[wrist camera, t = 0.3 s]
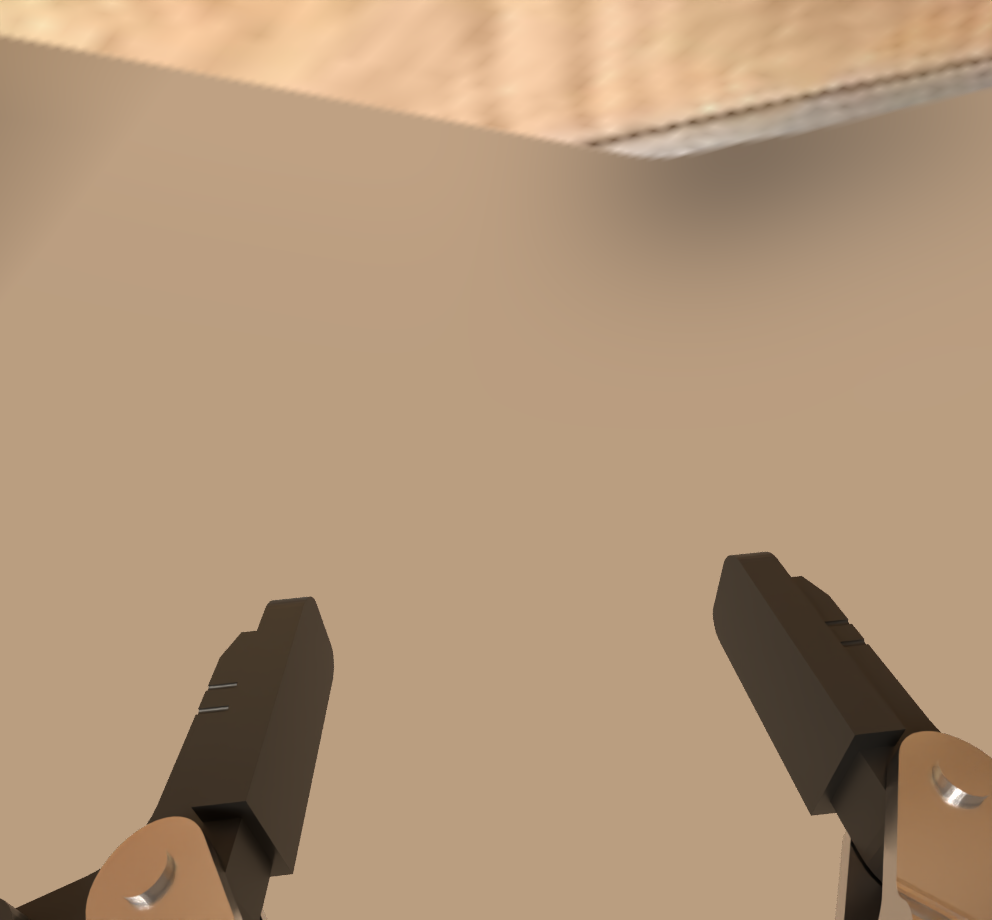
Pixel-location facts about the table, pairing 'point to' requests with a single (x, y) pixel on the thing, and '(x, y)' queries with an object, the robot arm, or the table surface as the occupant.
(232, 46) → the table surface
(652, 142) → the table surface
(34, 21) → the table surface
